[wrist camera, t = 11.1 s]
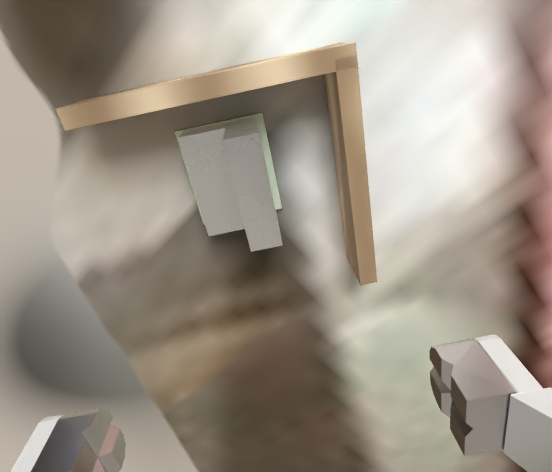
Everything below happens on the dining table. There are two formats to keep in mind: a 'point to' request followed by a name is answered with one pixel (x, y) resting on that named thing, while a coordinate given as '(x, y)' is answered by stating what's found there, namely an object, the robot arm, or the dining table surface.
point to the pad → (265, 149)
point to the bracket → (232, 180)
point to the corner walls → (325, 60)
